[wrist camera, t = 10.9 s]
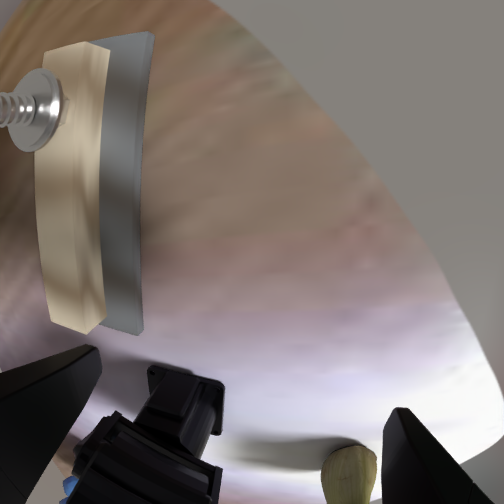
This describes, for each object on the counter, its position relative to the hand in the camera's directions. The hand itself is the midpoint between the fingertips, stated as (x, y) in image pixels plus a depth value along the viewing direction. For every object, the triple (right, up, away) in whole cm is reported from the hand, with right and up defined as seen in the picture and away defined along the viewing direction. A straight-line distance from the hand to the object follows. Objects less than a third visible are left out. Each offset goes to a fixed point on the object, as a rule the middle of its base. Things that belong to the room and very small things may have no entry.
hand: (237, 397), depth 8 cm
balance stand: (-11, +9, +12) cm, 19 cm away
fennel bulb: (+9, -15, +16) cm, 24 cm away
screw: (-11, +13, +7) cm, 18 cm away
